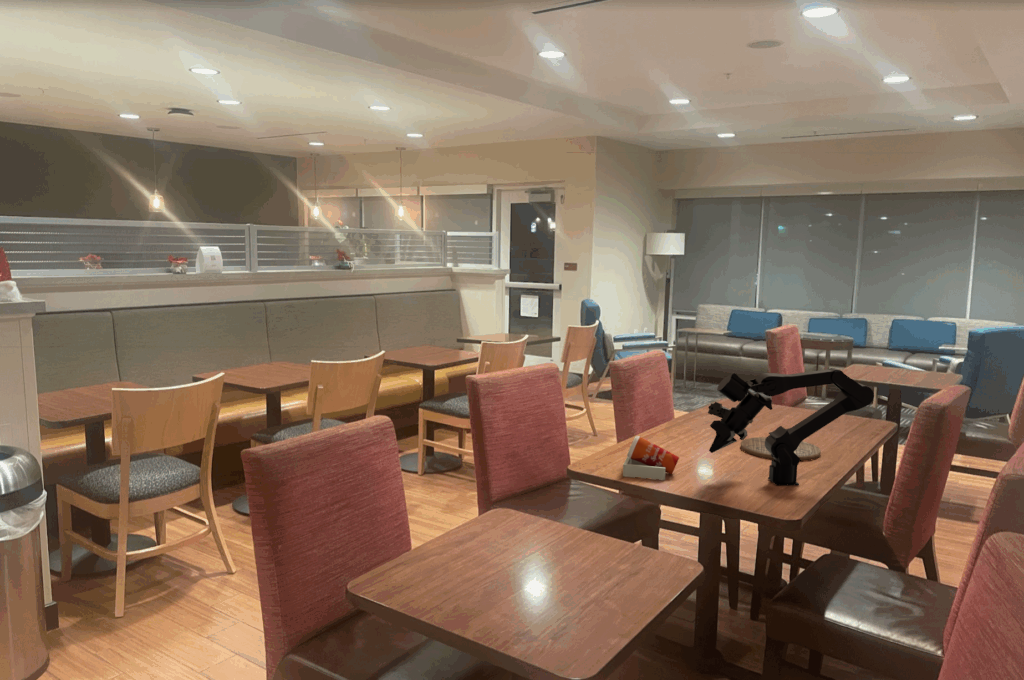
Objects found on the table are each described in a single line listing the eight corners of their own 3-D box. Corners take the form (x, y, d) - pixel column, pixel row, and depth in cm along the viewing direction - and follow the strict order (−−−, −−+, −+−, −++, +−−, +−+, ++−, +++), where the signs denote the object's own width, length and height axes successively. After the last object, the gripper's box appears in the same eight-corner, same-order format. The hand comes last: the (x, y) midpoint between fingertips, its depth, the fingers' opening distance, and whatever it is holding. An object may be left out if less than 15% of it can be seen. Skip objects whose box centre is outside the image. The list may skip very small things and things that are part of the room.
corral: (668, 467, 214) (668, 456, 214) (664, 480, 202) (665, 468, 201) (628, 464, 218) (629, 453, 217) (622, 476, 205) (623, 464, 205)
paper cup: (672, 474, 202) (626, 453, 206) (669, 480, 209) (625, 460, 213) (682, 450, 205) (637, 430, 209) (679, 457, 212) (635, 438, 215)
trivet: (741, 439, 251) (741, 434, 251) (817, 446, 243) (817, 440, 243) (739, 457, 228) (739, 451, 227) (823, 465, 219) (823, 459, 219)
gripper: (732, 394, 211) (699, 432, 215) (714, 391, 196) (679, 433, 200) (762, 419, 206) (727, 458, 210) (746, 418, 190) (708, 460, 194)
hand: (710, 451), depth 204 cm, fingers closed
